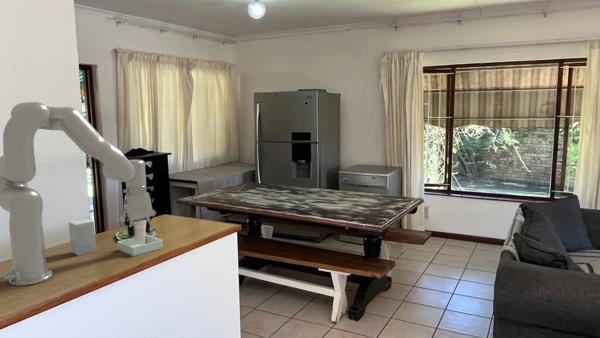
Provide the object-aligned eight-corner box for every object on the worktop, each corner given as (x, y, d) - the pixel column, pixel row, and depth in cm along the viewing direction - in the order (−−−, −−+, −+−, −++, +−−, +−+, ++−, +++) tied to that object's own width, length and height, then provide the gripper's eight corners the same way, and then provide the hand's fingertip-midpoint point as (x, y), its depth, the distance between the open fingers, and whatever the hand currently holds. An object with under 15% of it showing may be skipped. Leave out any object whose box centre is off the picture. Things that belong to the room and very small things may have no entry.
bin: (133, 256, 172) (133, 247, 171) (117, 249, 180) (117, 241, 180) (163, 248, 181) (162, 240, 181) (146, 242, 190) (146, 234, 190)
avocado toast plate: (161, 241, 193) (161, 230, 193) (117, 246, 186) (117, 236, 185) (155, 230, 211) (154, 220, 210) (114, 235, 203) (114, 225, 202)
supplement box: (96, 251, 179) (94, 221, 177) (77, 256, 173) (75, 224, 172) (89, 247, 184) (87, 218, 182) (70, 252, 178) (67, 221, 177)
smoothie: (142, 246, 177) (140, 211, 175) (128, 245, 178) (126, 211, 176) (151, 241, 183) (149, 208, 181) (137, 240, 184) (135, 207, 182)
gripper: (120, 194, 169) (123, 240, 171) (160, 188, 181) (163, 231, 184) (111, 192, 174) (114, 237, 176) (151, 186, 186) (153, 228, 189)
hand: (139, 233), depth 180 cm, fingers closed on smoothie, 6 cm apart
